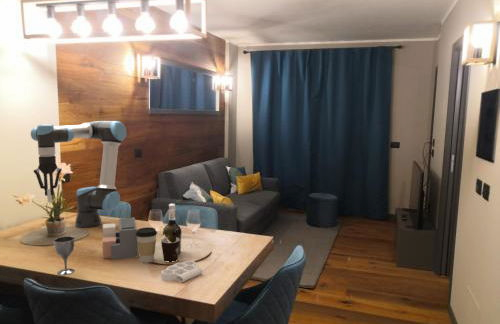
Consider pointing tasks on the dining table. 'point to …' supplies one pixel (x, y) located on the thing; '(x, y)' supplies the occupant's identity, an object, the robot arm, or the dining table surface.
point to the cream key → (109, 230)
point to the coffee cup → (146, 243)
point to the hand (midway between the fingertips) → (49, 201)
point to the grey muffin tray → (181, 271)
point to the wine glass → (64, 251)
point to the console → (125, 240)
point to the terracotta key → (108, 246)
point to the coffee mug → (170, 250)
